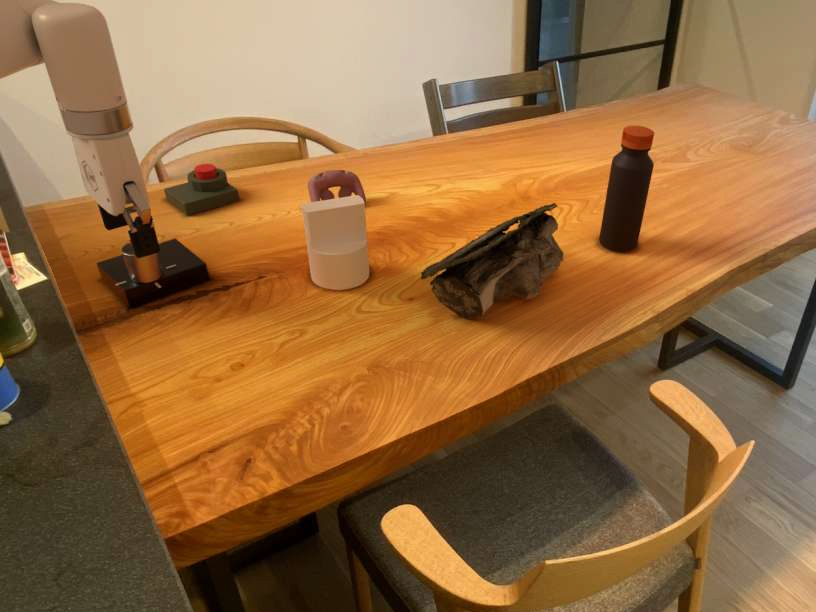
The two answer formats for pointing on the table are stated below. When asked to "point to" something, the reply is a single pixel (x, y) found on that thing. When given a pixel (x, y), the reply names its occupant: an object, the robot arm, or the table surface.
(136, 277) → the dial
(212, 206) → the button box
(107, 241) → the table surface
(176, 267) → the panel
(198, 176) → the button
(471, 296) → the driftwood chunk
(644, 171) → the bottle
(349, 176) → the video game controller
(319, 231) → the cylinder with rectangular tab
